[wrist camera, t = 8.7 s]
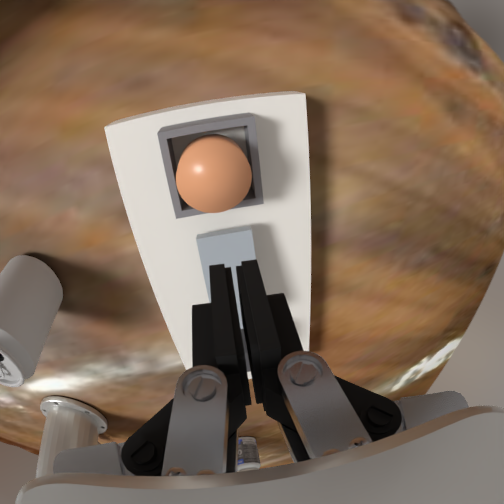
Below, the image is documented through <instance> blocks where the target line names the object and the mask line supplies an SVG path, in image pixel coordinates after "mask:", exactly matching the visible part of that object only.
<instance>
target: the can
mask: <svg viewBox="0 0 504 504" xmlns="http://www.w3.org/2000/svg"><path fill="white" fill-rule="evenodd" d="M62 299H63V289H62V286H61V284H60V281H59V279H58V278H57V276H56V275H55V273H54V272H53V271H52V269H51V268H50V267H49V266H47V265H46V264H45V263H44V262H42V261H40V260H39V259H36V258H34V257H31V256H27V255H21V256H16V257H14V258H12V259H10V261H9V262H8V264H7V265H6V266H5V268H4V269H3V271H2V272H1V273H0V384H3V385H5V386H10V387H19V386H21V385H22V384H24V379H27V378H30V377H31V376H32V375H33V374H34V372H35V369H36V366H37V363H38V360H39V357H40V355H41V352H42V349H43V346H44V344H45V341H46V338H47V336H48V333H49V331H50V328H51V326H52V323H53V321H54V318H55V316H56V314H57V311H58V309H59V307H60V304H61V302H62Z"/></svg>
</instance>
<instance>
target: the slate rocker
mask: <svg viewBox="0 0 504 504" xmlns="http://www.w3.org/2000/svg"><path fill="white" fill-rule="evenodd" d="M196 241H197V246H198V251H199V256H200V261H201V265H202V270H203V275H204V280H205V284H206V289H207V293H208V298H209V302H210V303H211V292H210V275H209V265H217V264H224V265H225V268H226V267H231V271H232V277H233V284H234V290H235V296H236V303H237V309H238V315H239V321H240V328H241V329H243V324H242V316H241V308H240V299H239V291H238V282H237V273H236V266H241V261H248V260H255V259H256V256H255V249H254V242H253V235H252V229H251V227H250V226H244V227H238V228H232V229H226V230H221V231H215V232H209V233H203V234H198V235H197V237H196Z"/></svg>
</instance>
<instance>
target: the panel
mask: <svg viewBox="0 0 504 504" xmlns="http://www.w3.org/2000/svg"><path fill="white" fill-rule="evenodd" d="M104 128H105V133H106V137H107V141H108V146H109V150H110V154H111V158H112V162H113V166H114V169H115V173H116V177H117V181H118V184H119V188H120V191H121V195H122V198H123V202H124V205H125V208H126V212H127V215H128V218H129V222H130V225H131V228H132V231H133V234H134V237H135V240H136V243H137V246H138V249H139V252H140V255H141V258H142V261H143V264H144V267H145V269H146V272H147V275H148V278H149V280H150V283H151V286H152V288H153V291H154V294H155V296H156V299H157V302H158V304H159V307H160V309H161V312H162V314H163V317H164V319H165V322H166V324H167V327H168V329H169V331H170V334H171V336H172V338H173V341H174V343H175V345H176V348H177V350H178V352H179V355H180V357H181V359H182V361H183V364H184V366H185V368H186V370H188V369H189V368H192V305H197V304H205V303H210V302H209V298H208V293H207V289H206V284H205V280H204V275H203V270H202V265H201V261H200V256H199V251H198V246H197V241H196V237H197V235H198V234H203V233H209V232H215V231H221V230H226V229H232V228H238V227H244V226H250V227H251V229H252V235H253V242H254V249H255V256H256V259H257V262H258V266H259V269H260V273H261V276H262V280H263V284H264V287H265V291H266V294H267V295H271V294H278V293H284V295H285V297H286V300H287V303H288V306H289V309H290V312H291V315H292V318H293V321H294V323H295V326H296V329H297V332H298V335H299V338H300V341H301V344H302V347H303V350H304V351H309V336H310V303H311V200H310V167H309V144H308V126H307V110H306V95H305V93H301V92H296V91H285V92H272V93H261V94H252V95H243V96H235V97H228V98H221V99H214V100H208V101H202V102H196V103H190V104H185V105H180V106H175V107H170V108H165V109H160V110H156V111H151V112H147V113H143V114H139V115H135V116H131V117H127V118H123V119H119V120H116V121H114V122H112V123H110V124H109V125H107V126H105V127H104ZM207 134H219V135H223V136H226V137H229V138H231V139H232V140H234V141H235V142H236V143H237V144H238V145H239V146H240V147H241V149H242V151H243V152H244V154H245V156H246V158H247V160H248V162H249V164H250V167H251V172H252V181H251V186H250V189H249V191H248V193H247V195H246V196H245V198H244V199H243V200H242V201H241V202H240V203H239V204H238V205H236V206H235V207H233V208H231V209H229V210H227V211H224V212H220V213H206V212H202V211H199V210H196V209H194V208H192V207H191V206H190V205H188V204H187V203H186V202H185V201H184V200H183V198H182V197H181V195H180V194H179V191H178V189H177V185H176V172H177V168H178V164H179V160H180V156H181V154H182V152H183V150H184V149H185V147H186V146H187V145H188V144H189V143H190V142H191V141H193V140H194V139H196V138H198V137H200V136H203V135H207ZM247 375H248V379H252V376H251V371H250V372H247Z"/></svg>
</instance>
